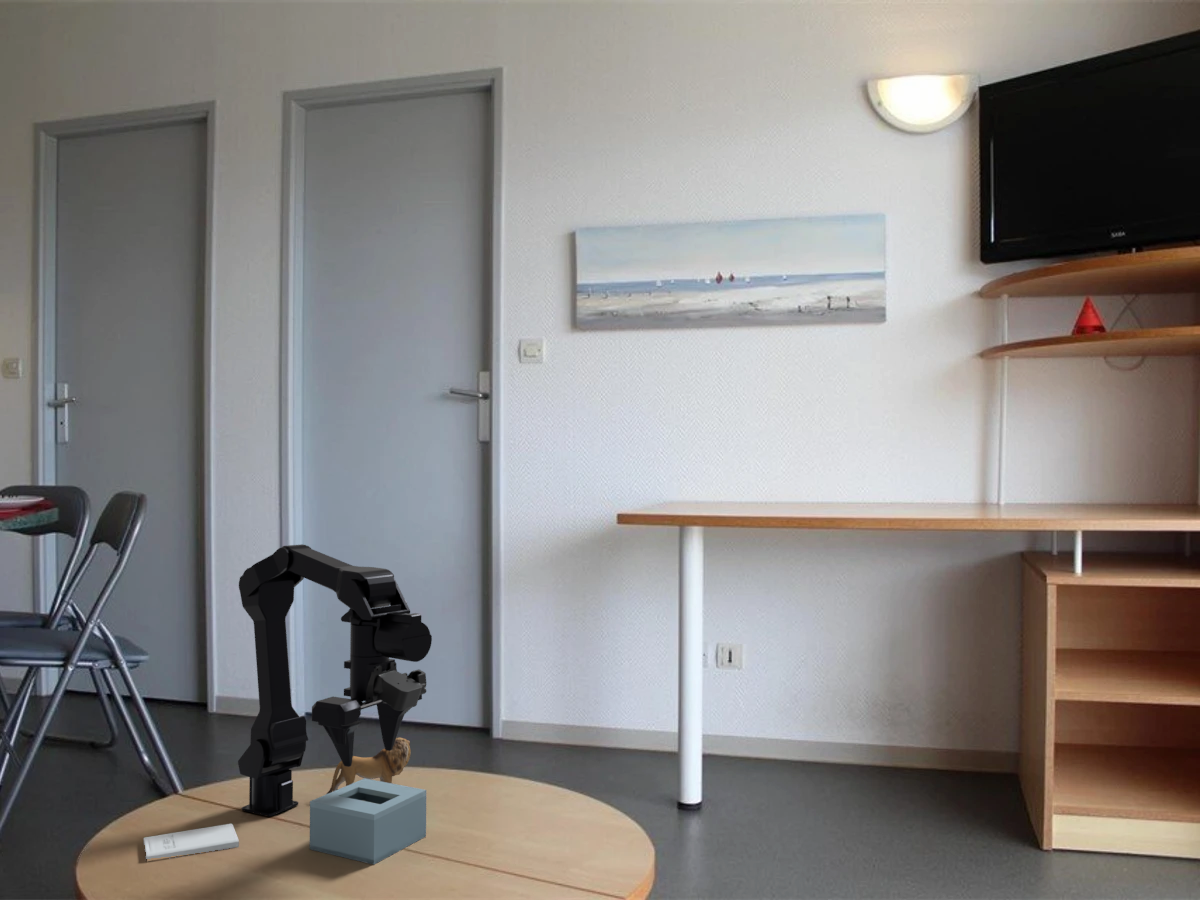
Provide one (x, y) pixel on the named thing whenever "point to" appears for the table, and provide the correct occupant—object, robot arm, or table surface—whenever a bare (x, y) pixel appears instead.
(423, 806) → the tissue box
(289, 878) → the table surface
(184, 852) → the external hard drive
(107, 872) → the table surface
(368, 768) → the lion figurine
